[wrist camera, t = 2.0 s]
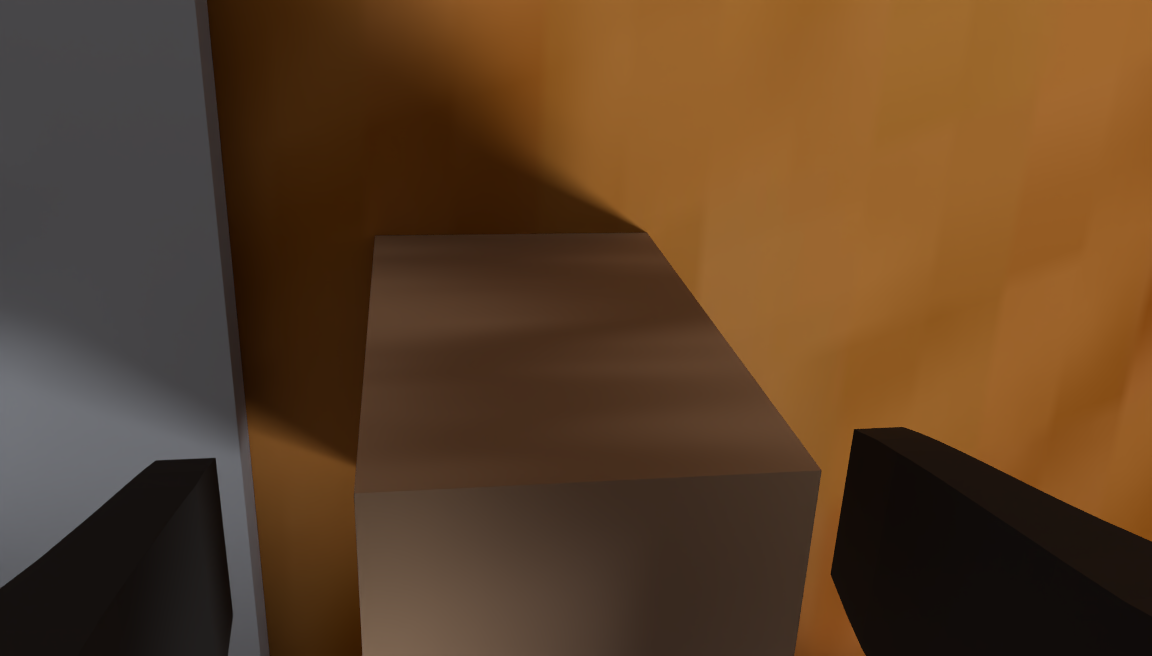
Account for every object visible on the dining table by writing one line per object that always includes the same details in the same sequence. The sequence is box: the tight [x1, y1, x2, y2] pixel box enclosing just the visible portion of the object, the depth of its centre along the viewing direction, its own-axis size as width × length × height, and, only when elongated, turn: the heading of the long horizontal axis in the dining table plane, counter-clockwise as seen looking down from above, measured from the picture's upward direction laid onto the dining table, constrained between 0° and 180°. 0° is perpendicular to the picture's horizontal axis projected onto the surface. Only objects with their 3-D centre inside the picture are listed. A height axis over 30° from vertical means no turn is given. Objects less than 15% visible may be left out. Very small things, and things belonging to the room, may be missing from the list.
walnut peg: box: [354, 233, 821, 656], centre depth 13 cm, size 4×4×7 cm
